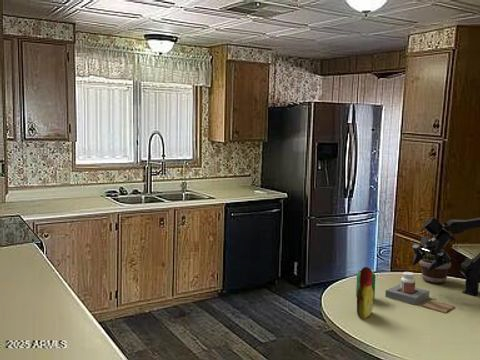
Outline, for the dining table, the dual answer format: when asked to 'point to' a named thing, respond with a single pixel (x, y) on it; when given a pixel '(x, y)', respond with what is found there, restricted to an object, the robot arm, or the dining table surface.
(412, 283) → the pill bottle
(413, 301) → the holder
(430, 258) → the flowerpot
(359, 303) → the bottle
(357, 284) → the beverage can
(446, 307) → the pad
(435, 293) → the dining table surface
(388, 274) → the dining table surface
